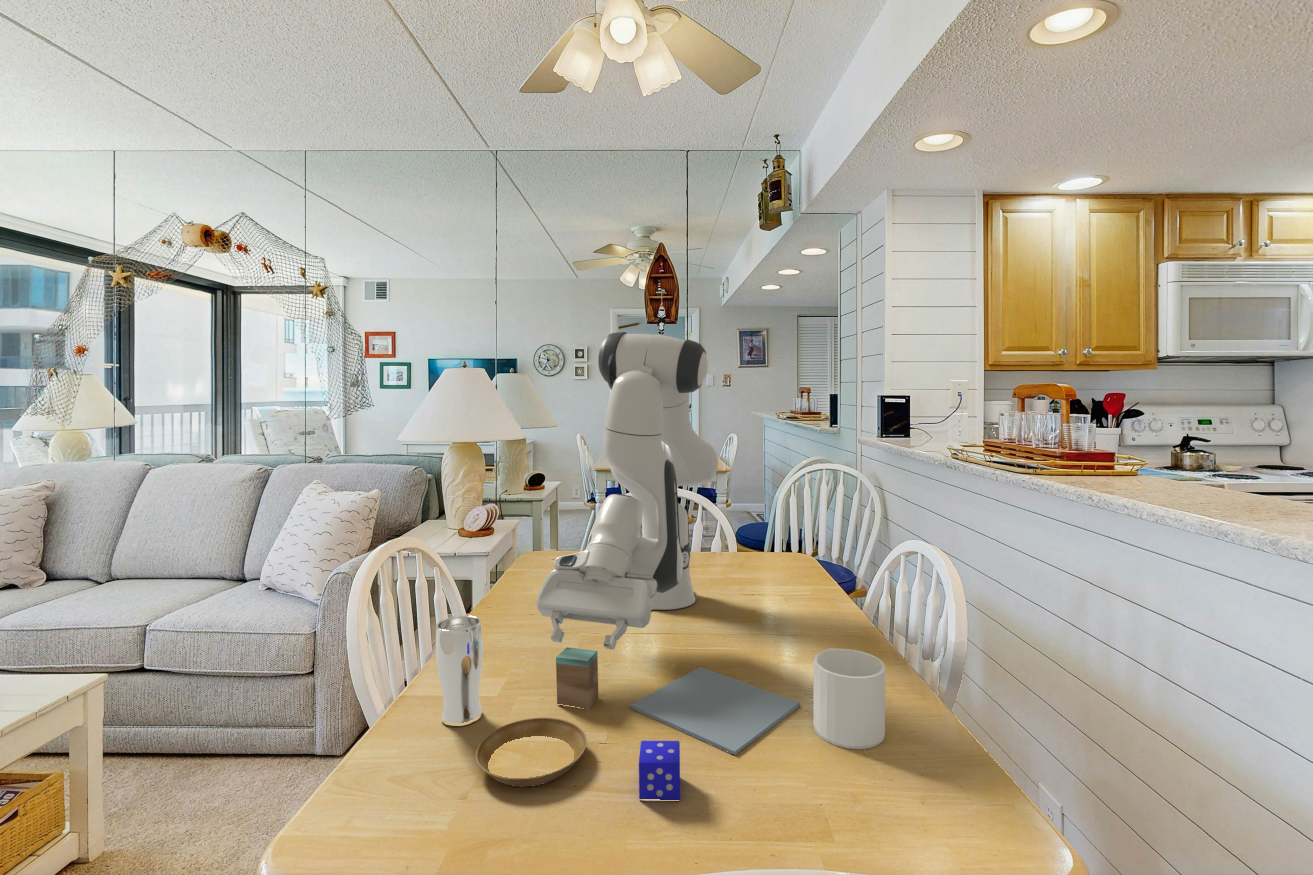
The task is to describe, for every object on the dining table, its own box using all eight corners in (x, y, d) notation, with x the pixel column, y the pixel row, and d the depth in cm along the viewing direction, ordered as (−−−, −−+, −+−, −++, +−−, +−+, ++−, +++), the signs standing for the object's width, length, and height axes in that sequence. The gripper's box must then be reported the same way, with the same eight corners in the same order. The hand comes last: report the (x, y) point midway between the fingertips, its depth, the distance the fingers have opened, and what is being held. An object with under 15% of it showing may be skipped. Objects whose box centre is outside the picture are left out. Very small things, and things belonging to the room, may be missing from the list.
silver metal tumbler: (494, 709, 98) (491, 617, 97) (467, 732, 91) (463, 633, 90) (457, 703, 100) (454, 612, 99) (428, 724, 93) (424, 628, 92)
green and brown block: (567, 693, 103) (566, 647, 102) (598, 698, 101) (597, 650, 101) (557, 705, 99) (555, 656, 98) (588, 710, 97) (587, 660, 97)
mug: (898, 747, 86) (898, 675, 85) (829, 752, 85) (829, 680, 84) (858, 703, 98) (858, 640, 98) (797, 707, 97) (797, 644, 97)
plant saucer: (484, 811, 74) (483, 790, 74) (469, 748, 87) (469, 730, 87) (601, 779, 80) (601, 760, 80) (570, 725, 93) (570, 708, 93)
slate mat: (630, 708, 98) (630, 704, 98) (700, 670, 111) (700, 666, 111) (734, 755, 84) (734, 751, 84) (799, 705, 98) (799, 702, 98)
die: (641, 777, 80) (640, 739, 80) (679, 777, 80) (679, 739, 79) (639, 802, 75) (638, 762, 75) (680, 802, 75) (679, 762, 74)
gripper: (663, 584, 110) (645, 660, 101) (558, 574, 116) (533, 645, 107) (656, 566, 105) (637, 643, 96) (547, 556, 111) (520, 628, 102)
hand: (581, 644), depth 102 cm, fingers open, 8 cm apart
